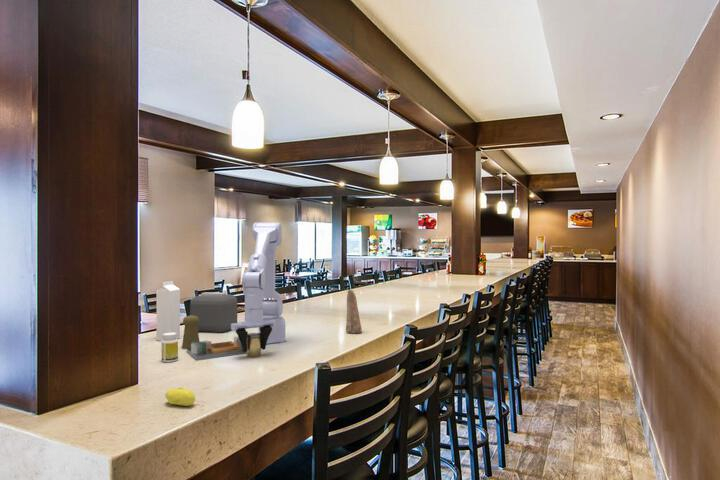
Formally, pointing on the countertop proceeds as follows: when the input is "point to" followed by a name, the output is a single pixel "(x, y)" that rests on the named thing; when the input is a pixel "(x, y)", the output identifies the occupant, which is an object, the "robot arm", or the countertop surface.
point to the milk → (168, 310)
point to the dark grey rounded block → (214, 311)
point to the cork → (190, 331)
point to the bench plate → (214, 349)
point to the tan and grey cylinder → (254, 345)
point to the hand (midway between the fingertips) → (253, 350)
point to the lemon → (180, 396)
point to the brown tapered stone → (352, 315)
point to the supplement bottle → (169, 347)
